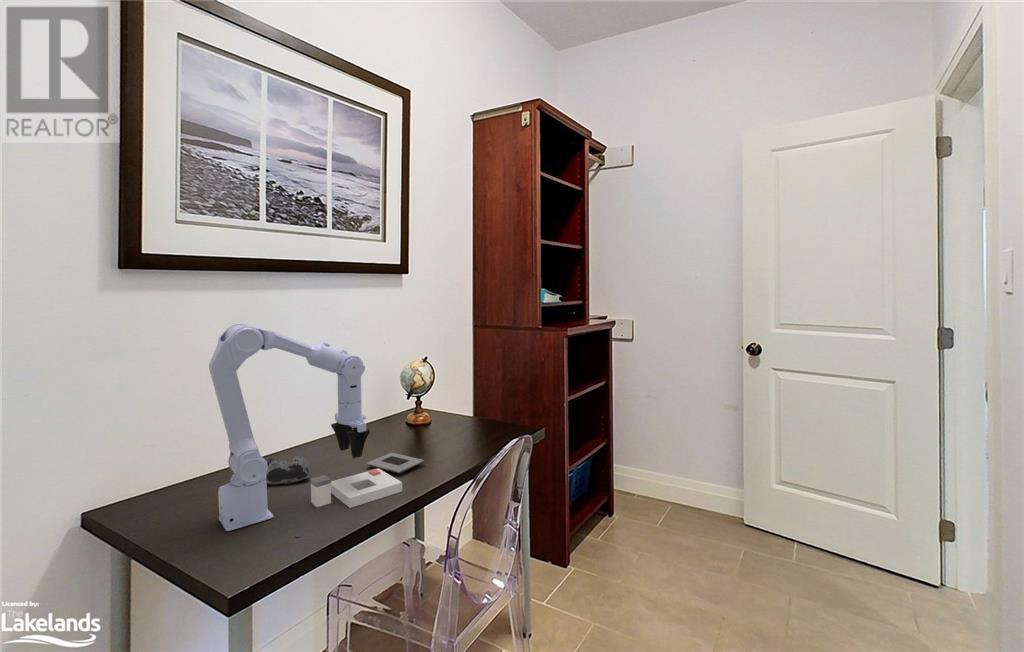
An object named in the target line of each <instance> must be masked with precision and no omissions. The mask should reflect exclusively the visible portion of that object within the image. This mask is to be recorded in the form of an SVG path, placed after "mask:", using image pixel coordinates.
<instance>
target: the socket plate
mask: <svg viewBox="0 0 1024 652" xmlns="http://www.w3.org/2000/svg"><path fill="white" fill-rule="evenodd" d="M401 492H403V482H402V481H401V480H399V479H398V478H395V477H394V476H392V475H390V474H389V473H387V472H385V470H382V469H378V468H373V469H369V470H367V471H365V472H364V471H363V472H361V473H357V474H356V473H355V474H353V475H349V476H346V477H342V478H338V479H336V480H331V495H333V496H334V497H336V498H337V499H338V500H339V501H341V502H342V503H343V504H344V505H345V506H347V507H348V508H349V509H351V508H354V507H358V506H360V505H363V504H368V503H370V502H373V501H376V500H380V499H383V498H386V497H389V496H393V495H395V494H398V493H401Z"/></svg>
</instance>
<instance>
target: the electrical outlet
mask: <svg viewBox="0 0 1024 652" xmlns="http://www.w3.org/2000/svg"><path fill="white" fill-rule="evenodd" d="M424 462H425V460H424V459H421V458H417V457H412V456H408V455H404V454H400V453H397V452H390V453H387V454H385V455H383V456H380V457H377V458H375V459H372V460H369V461H368V462H365V465H366V466H369V467H371V468H374V469H380V470H382V471H386V472H390V473H393V474H398V475H400V474H402V473H404V472H407V471H408V470H409V471H410V469H413V468H415V467H417V466H419V465H422V464H423V463H424Z"/></svg>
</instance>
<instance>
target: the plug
mask: <svg viewBox="0 0 1024 652" xmlns="http://www.w3.org/2000/svg"><path fill="white" fill-rule="evenodd" d="M309 479H310V480H309V482H310V497H311V498H310V501H311V502H310V503H311V504H312V505H313V506H314V507H316V508H320V507H323V506H326V505H331V504H332V493H331V481H332V480H331V478H330V477H328V476H327V475H326V474H324V475H319V476H317V477H312V478H309Z"/></svg>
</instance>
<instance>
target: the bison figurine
mask: <svg viewBox="0 0 1024 652" xmlns="http://www.w3.org/2000/svg"><path fill="white" fill-rule="evenodd" d="M267 464H268V470H267V473H266V483H267V485H272V486H273V485H282V484H283V485H284V484H287V485H289V484H293V483H298V482H300V481H303V480H305V479H308V478H309V477H310V476H311V474H312V468H311V465H310V463H309V462H308V461H307V460H306V459H305V458H304V457H302V456H295V457H293V459H292V462H289V461H288V460H286V459H285V460H283V459H282V460H279V458H277V459H275V458H273V457H270V458H269V459H268V461H267Z"/></svg>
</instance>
